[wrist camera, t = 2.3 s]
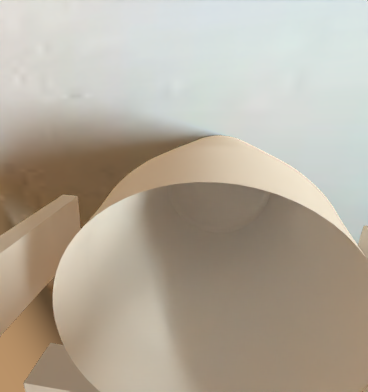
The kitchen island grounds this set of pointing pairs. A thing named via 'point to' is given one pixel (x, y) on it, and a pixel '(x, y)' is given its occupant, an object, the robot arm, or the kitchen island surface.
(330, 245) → the cup
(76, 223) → the robot arm
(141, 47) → the kitchen island surface
